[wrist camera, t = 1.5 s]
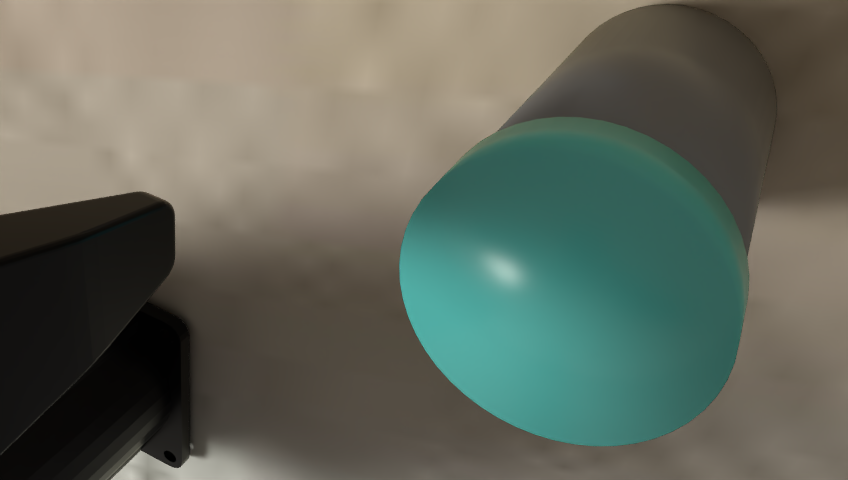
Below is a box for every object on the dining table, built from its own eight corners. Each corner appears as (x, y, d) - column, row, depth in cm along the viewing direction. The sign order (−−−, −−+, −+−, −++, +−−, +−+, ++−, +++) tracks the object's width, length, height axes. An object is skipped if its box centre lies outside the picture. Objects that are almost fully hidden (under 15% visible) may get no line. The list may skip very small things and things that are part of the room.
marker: (730, 241, 16) (666, 495, 10) (531, 168, 17) (379, 364, 12) (824, 39, 14) (806, 230, 8) (587, -30, 15) (428, 98, 9)
